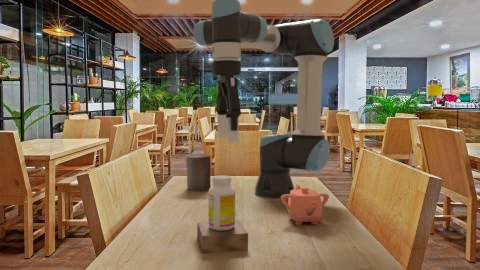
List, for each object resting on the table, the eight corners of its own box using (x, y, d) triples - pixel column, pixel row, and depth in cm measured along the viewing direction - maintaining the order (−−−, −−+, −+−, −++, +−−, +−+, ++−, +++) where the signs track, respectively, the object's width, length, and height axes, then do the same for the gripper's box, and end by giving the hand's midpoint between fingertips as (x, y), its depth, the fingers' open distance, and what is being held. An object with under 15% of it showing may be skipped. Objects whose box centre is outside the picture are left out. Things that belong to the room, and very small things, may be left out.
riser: (238, 234, 106) (238, 219, 106) (248, 249, 96) (248, 233, 95) (197, 237, 104) (197, 222, 104) (202, 252, 93) (202, 236, 93)
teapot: (335, 221, 118) (336, 188, 117) (313, 231, 109) (314, 195, 109) (296, 212, 128) (297, 181, 127) (273, 220, 119) (273, 187, 118)
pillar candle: (215, 188, 163) (215, 151, 162) (200, 192, 155) (200, 154, 154) (196, 185, 168) (196, 150, 167) (181, 189, 160) (181, 152, 159)
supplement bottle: (239, 225, 101) (239, 175, 100) (227, 233, 95) (228, 180, 94) (216, 222, 104) (216, 173, 103) (203, 229, 98) (203, 177, 97)
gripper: (205, 63, 116) (206, 136, 118) (221, 55, 91) (223, 146, 94) (230, 63, 117) (231, 135, 119) (253, 56, 93) (253, 145, 95)
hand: (227, 140), depth 107 cm, fingers open, 13 cm apart
